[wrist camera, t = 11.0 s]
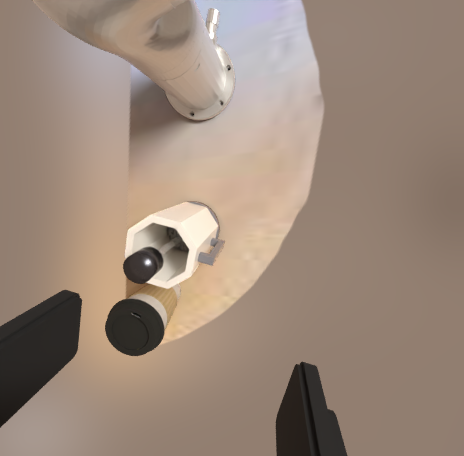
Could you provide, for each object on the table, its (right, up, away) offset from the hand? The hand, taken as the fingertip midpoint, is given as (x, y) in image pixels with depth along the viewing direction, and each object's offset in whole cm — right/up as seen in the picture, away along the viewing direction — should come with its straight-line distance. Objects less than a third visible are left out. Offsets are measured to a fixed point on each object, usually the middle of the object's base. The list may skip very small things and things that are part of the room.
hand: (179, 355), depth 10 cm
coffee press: (-6, +5, +39) cm, 40 cm away
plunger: (-6, +5, +36) cm, 37 cm away
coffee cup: (-12, -8, +43) cm, 46 cm away
